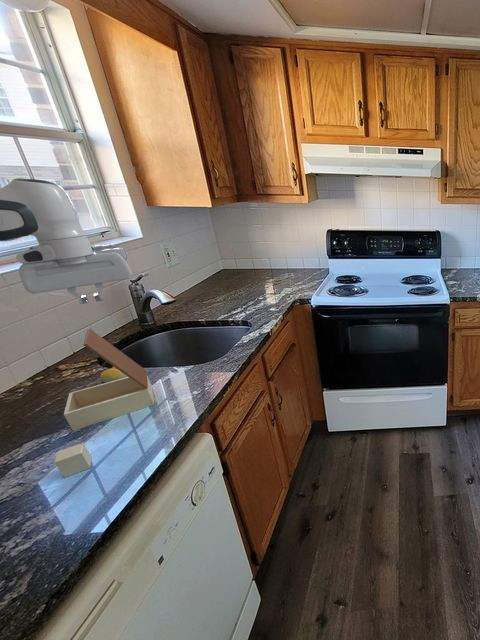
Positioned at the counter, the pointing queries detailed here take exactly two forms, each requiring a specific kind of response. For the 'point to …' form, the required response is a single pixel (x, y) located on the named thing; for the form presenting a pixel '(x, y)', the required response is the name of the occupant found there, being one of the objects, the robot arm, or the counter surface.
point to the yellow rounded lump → (111, 375)
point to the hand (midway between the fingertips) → (92, 301)
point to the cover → (115, 358)
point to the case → (106, 402)
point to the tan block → (73, 460)
